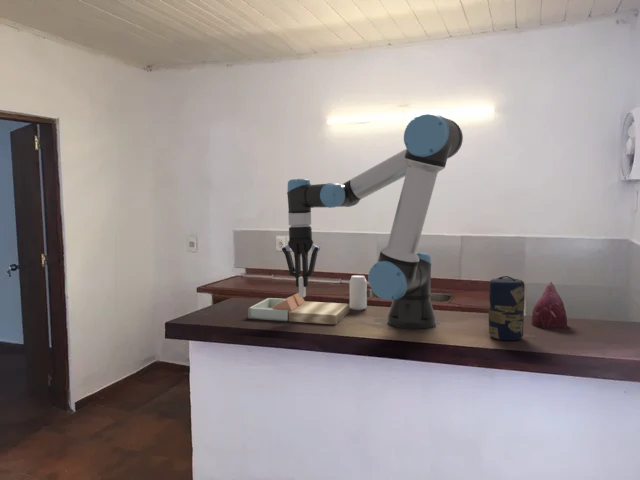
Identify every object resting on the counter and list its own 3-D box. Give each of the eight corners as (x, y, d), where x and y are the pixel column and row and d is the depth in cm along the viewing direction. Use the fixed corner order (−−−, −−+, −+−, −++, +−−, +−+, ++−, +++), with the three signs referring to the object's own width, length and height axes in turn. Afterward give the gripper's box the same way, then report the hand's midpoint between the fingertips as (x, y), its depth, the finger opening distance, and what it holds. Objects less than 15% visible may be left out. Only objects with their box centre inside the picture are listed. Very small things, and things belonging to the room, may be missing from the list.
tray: (304, 309, 188) (304, 299, 187) (287, 321, 170) (287, 310, 170) (268, 307, 192) (268, 297, 191) (248, 318, 174) (248, 308, 174)
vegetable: (536, 329, 170) (534, 284, 173) (570, 330, 164) (567, 283, 167) (527, 328, 162) (525, 280, 165) (563, 329, 156) (560, 279, 159)
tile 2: (304, 302, 185) (299, 292, 185) (299, 305, 179) (294, 295, 179) (290, 308, 187) (285, 298, 187) (284, 312, 181) (280, 301, 181)
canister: (504, 344, 143) (506, 279, 142) (481, 335, 152) (482, 274, 150) (530, 340, 147) (532, 277, 146) (506, 332, 156) (508, 272, 154)
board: (348, 312, 183) (348, 303, 183) (336, 324, 166) (336, 315, 166) (305, 309, 188) (305, 301, 187) (288, 321, 170) (288, 312, 170)
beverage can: (346, 309, 188) (346, 276, 187) (356, 306, 193) (356, 274, 191) (359, 311, 184) (359, 278, 183) (370, 308, 188) (370, 276, 187)
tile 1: (297, 306, 177) (292, 296, 178) (291, 310, 172) (286, 299, 172) (283, 313, 179) (278, 303, 179) (276, 317, 173) (271, 306, 174)
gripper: (322, 225, 173) (324, 294, 175) (285, 225, 177) (287, 294, 179) (315, 226, 166) (318, 299, 168) (277, 227, 170) (280, 298, 171)
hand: (302, 296), depth 173 cm, fingers closed
